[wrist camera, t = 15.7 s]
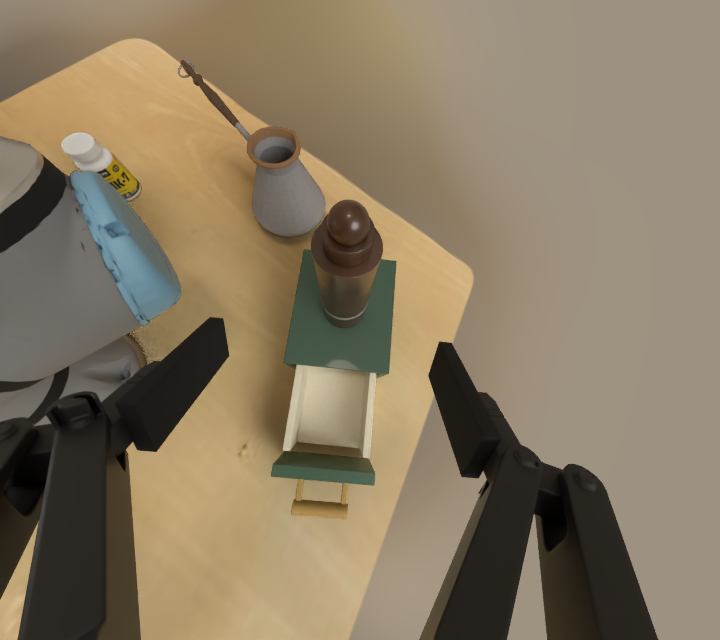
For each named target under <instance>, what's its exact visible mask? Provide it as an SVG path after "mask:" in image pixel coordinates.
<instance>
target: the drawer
mask: <svg viewBox="0 0 720 640" xmlns="http://www.w3.org/2000/svg"><path fill="white" fill-rule="evenodd" d="M375 385H376V373H370V372H361V371H351V370H342V369H333V368H323V367H314V366H305V365H297V366H296V372H295V378H294V384H293V390H292V396H291V402H290V408H289V414H288V420H287V426H286V432H285V438H284V444H283V451H285V452H284V453H283V454H282V455H281V456H280V457H279V458H278V459H277V460H276V461H275V463H274V464H273V467H272V473H271V477H282V478H294V479H298V485H297V492H296V499H294V501H293V505H292V511H291V514H292V515H299V516H312V517H324V518H336V519H347V512H348V504H347V503H346V501H347V491H348V483H351V484H362V485H374V483H375V472H374V470H373V467H372V465H371V463H370V460H369V459H368V458H370V448H371V435H372V423H373V410H374V397H375ZM297 442H299V443H310V444H320V445H331V446H342V447H352V448H359V449H360V452H361V454H362V457H363V458H358V457H347V456H336V455H325V454H314V453H304V452H293V451H290V450H291V449H292V448H293V446H294V445H295V444H296V443H297ZM304 479H305V480H317V481H328V482H339V483H343V485H342V495H341V503H335V502H323V501H311V500H301V498H302V491H303V484H304Z"/></svg>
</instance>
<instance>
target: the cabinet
mask: <svg viewBox="0 0 720 640" xmlns="http://www.w3.org/2000/svg"><path fill="white" fill-rule="evenodd" d="M395 274H396V261H391V260H383V259H381V260H380V263H379V267H378V270H377V273H376V276H375V280H374V283H373V286H372V289H371V293H370V296H369V300H368V304H367V307H366V309H365V312H364V316H363V318H362V319H361V321H360V322H359V323H358V324H356V325H355V326H353V327H350V328H339V327H336V326H334V325H332V324H331V323H330V322H329V321H328V320H327V319H326V317H325V314H324V310H323V305H322V302H321V295H320V290H319V285H318V280H317V275H316V270H315V265H314V260H313V255H312V250H304V253H303V258H302V264H301V269H300V275H299V280H298V286H297V291H296V297H295V302H294V308H293V313H292V319H291V324H290V330H289V335H288V341H287V346H286V352H285V357H284V363H285V364H287V365H289V366H291V367H293V368H295V369H296V366H297V365H305V366H314V367H323V368H333V369H342V370H351V371H361V372H370V373H376V377H377V378H379V377H381V376H384V375H387V374H389V364H390V349H391V334H392V319H393V304H394V289H395Z"/></svg>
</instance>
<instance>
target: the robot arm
mask: <svg viewBox="0 0 720 640" xmlns="http://www.w3.org/2000/svg"><path fill="white" fill-rule="evenodd" d="M180 295H181V286H180V282H179V279H178V277H177V275H176V273H175V270H174V269H173V267H172V265H171V263H170V261H169V260H168V258H167V256H166V255H165V253H164V251H163V250H162V248H161V247H160V245H159V244H158V242H157V241H156V239H155V238H154V236H153V235H152V233H151V232H150V231H149V229H148V228H147V226H146V225H145V224H144V222H143V221H142V220H141V218H140V217H139V216H138V215H137V213H136V212H135V211H134V209H133V208H132V207H131V206H130V204H129V203H128V202H127V201H126V200H125V199H124V197H123V196H122V195H121V194H120V193H119V192H118V191H117V190H116V189H115V188H114V187H113V186H112V185H111V184H110V183H108V182H107V181H106V180H105V179H104V178H103V177H102V176H101V175H99V174H98V173H96V172H93V171H83V172H81V171H78V170H75V171H73V172H72V173H71V174H70V176H67V175H66V174H64V173H62V172H61V171H60V170H59V169H58V168H57V167H55V166H54V165H53V164H52V163H51V162H50V161H49V160H48V159H46V158H45V157H44V156H43V155H42V154H41V153H40V152H39V151H37V150H36V149H35V148H33V147H32V146H31V145H29V144H27V143H24V142H20V141H16V140H13V139H9V138H5V137H1V136H0V599H1V597H2V595H3V593H4V591H5V589H6V587H7V585H8V583H9V581H10V579H11V577H12V574H13V572H14V570H15V568H16V566H17V564H18V562H19V560H20V558H21V556H22V554H23V552H24V550H25V548H26V546H27V544H28V542H29V540H30V538H31V535H32V533H33V531H34V529H35V527H36V525H37V523H38V521H39V524H38V529H37V535H36V541H35V546H34V552H33V557H32V563H31V568H30V574H29V580H28V585H27V591H26V596H25V602H24V607H23V613H22V619H21V624H20V630H19V635H18V640H141V635H140V620H139V606H138V591H137V576H136V562H135V547H134V533H133V518H132V504H131V489H130V475H129V460H128V453H127V451H126V449H127V448H128V446H129V445H130V444H131V443H132V442H134V444H135V446H136V448H137V450H141V451H153V452H157V450H158V449H159V448H160V446H161V445H162V444H163V442H164V441H165V440H166V438H167V437H168V436H169V434H170V433H171V432H172V430H173V429H174V428H175V426H176V425H177V424H178V423H179V421H180V420H181V419H182V417H183V416H184V415H185V413H186V412H187V411H188V409H189V408H190V407H191V405H192V404H193V403H194V401H195V400H196V399H197V397H198V396H199V395H200V394H201V392H202V391H203V390H204V388H205V387H206V386H207V384H208V383H209V382H210V380H211V379H212V378H213V376H214V375H215V374H216V372H217V371H218V370H219V368H220V367H221V366H222V365H223V363H224V362H225V361H226V359H227V358H228V357H229V351H228V345H227V339H226V333H225V327H224V321H223V318H213V317H210V318H209V319H207V320H206V321H205V322H204V323H203V324H202V325H201V326H200V327H199V328H197V329H196V330H195V331H194V332H193V333H192V334H191V335H190V336H189V337H187V338H186V339H185V340H184V341H183V342H182V343H181V344H180V345H179V346H178V347H176V348H175V349H174V350H173V351H172V352H171V353H170V354H169V355H168V356H166V357H165V358H164V359H163V360H162V361H153V362H152V363H150V364H148V365H147V363H146V359H145V356H144V353H143V351H142V349H141V348H140V346H139V345H138V344H137V343H136V342H135V341H134V340H133V339H132V338H131V337H129V336H128V335H126V334H128V333H130V332H131V331H133V330H135V329H137V328H139V327H141V326H142V325H143V326H146V325H148V324H149V323H150V320H151V319H153V318H154V317H156V316H158V315H159V314H161V313H163V312H164V311H166V310H167V309H169V308H171V307H172V306H174V305H175V304H176V303H177V302H178V300H179V298H180ZM428 376H429V379H430V382H431V385H432V388H433V391H434V394H435V397H436V400H437V403H438V407H439V409H440V413H441V416H442V419H443V422H444V425H445V428H446V431H447V434H448V437H449V440H450V443H451V446H452V449H453V452H454V455H455V458H456V461H457V464H458V467H459V470H460V474H461V476H462V477H469V478H479V476H480V475H481V473H482V471H484V473H485V475H486V478H487V481H486V482H485V484H484V485H483V487H482V488H481V490H480V492H479V494H480V496H479V498H478V500H477V503H476V505H475V508H474V510H473V513H472V515H471V517H470V520H469V522H468V524H467V527H466V529H465V532H464V534H463V536H462V539H461V541H460V543H459V546H458V548H457V551H456V553H455V556H454V558H453V560H452V563H451V565H450V567H449V570H448V572H447V575H446V577H445V579H444V582H443V584H442V587H441V589H440V592H439V594H438V596H437V599H436V601H435V603H434V606H433V608H432V611H431V613H430V616H429V618H428V620H427V623H426V625H425V627H424V630H423V632H422V635H421V637H420V639H419V640H507V636H508V631H509V626H510V621H511V617H512V613H513V608H514V603H515V599H516V594H517V589H518V585H519V580H520V575H521V571H522V565H523V561H524V557H525V552H526V547H527V543H528V538H529V533H530V529H531V524H532V519H533V515H534V514H535V518H536V528H537V538H538V549H539V559H540V569H541V578H542V579H541V580H542V590H543V601H544V611H545V621H546V632H547V640H658V638H657V635H656V632H655V629H654V627H653V624H652V621H651V618H650V615H649V612H648V609H647V606H646V604H645V601H644V598H643V595H642V592H641V589H640V586H639V583H638V580H637V578H636V575H635V572H634V569H633V566H632V563H631V560H630V557H629V555H628V552H627V549H626V546H625V543H624V540H623V537H622V534H621V531H620V529H619V526H618V523H617V520H616V517H615V514H614V511H613V508H612V506H611V503H610V500H609V497H608V494H607V491H606V489H605V487H604V485H603V484H602V482H601V481H600V480H599V479H598V478H597V477H596V476H595V475H594V474H593V473H591V472H590V471H589V470H587V469H585V468H583V467H582V466H579V465H576V464H568V465H567V466H566V467H565V468H564V469H563V470H561V469H559V468H556V467H554V466H551V465H548V464H545V463H543V462H541V461H540V459H539V458H538V457H537V456H536V454H535V453H534V452H532V451H531V450H530V449H528V448H527V447H525V446H522V445H521V444H520V443H519V441H518V439H517V438H516V436H515V434H514V432H513V431H512V429H511V427H510V426H509V424H508V422H507V421H506V419H505V418H504V416H503V414H502V412H501V411H500V409H499V407H498V406H497V404H496V402H495V401H494V400H493V399H492V398H491V397H490V396H489V395H488V394H487V393H483V392H477V390H476V388H475V386H474V384H473V382H472V380H471V379H470V377H469V375H468V373H467V371H466V369H465V367H464V365H463V364H462V362H461V360H460V358H459V356H458V354H457V353H456V350H455V349H454V347H453V345H452V343H448V342H439V344H438V347H437V350H436V354H435V357H434V360H433V363H432V366H431V369H430V372H429V375H428Z"/></svg>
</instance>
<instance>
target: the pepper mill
mask: <svg viewBox="0 0 720 640" xmlns="http://www.w3.org/2000/svg"><path fill="white" fill-rule="evenodd" d="M311 250H312V255H313V260H314V265H315V270H316V275H317V280H318V285H319V290H320V295H321V302H322V305H323V310H324V314H325V317H326V319H327V320H328V321H329V322H330V323H331V324H332V325H334V326H336V327H339V328H350V327H353V326H355V325H356V324H358V323H359V322H360V321H361V319H362V318H363V316H364V312H365V309H366V307H367V304H368V300H369V296H370V293H371V289H372V286H373V283H374V280H375V276H376V273H377V270H378V267H379V263H380V260H381V257H382V253H383V243H382V239H381V237H380V234H379V233H378V231H377V230H376V228H375V227H374V224H373V222H372V220H371V218H370V217H369V215H368V212H367V210H366V209H365V208H364V206H362V205H361V204H360V203H358V202H356V201H354V200H343V201H340V202H338V203H336V204H335V205H334V206H333V207H332V208H331V210H330V212H329V214H328V215H327V216H326V217H325V218H324V220H323V222H322V224H321V225H320V226H319V227H318V228H317V229H316V231H315V233H314V235H313V237H312V242H311Z"/></svg>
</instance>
